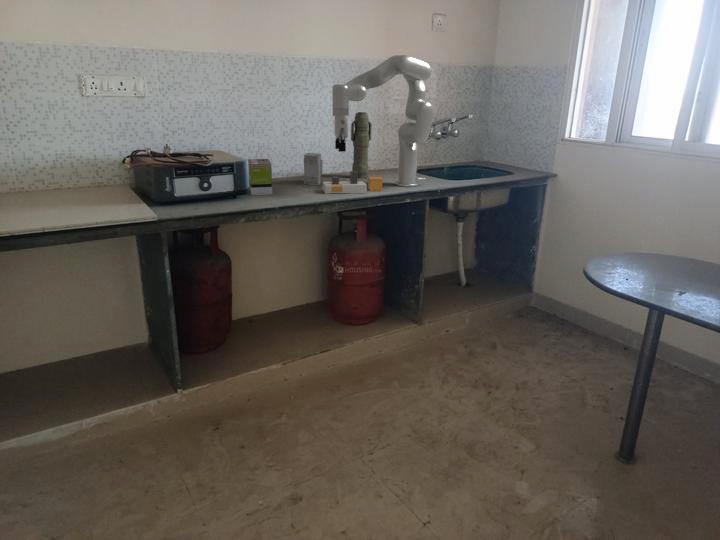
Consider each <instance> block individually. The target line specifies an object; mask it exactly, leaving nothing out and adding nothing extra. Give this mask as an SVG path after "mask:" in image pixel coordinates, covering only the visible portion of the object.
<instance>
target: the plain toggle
mask: <svg viewBox="0 0 720 540" xmlns="http://www.w3.org/2000/svg"><path fill="white" fill-rule="evenodd" d="M349 171H350V170H349ZM349 173H350V174H349V181H350V184H357V181H358V179H357V173H358V172H357V171H350V172H349Z"/></svg>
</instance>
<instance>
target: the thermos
mask: <svg viewBox="0 0 720 540" xmlns="http://www.w3.org/2000/svg"><path fill="white" fill-rule="evenodd" d="M369 119H370V118H369V115H368V112H364V111H363V112H361V111H358V112H356V113H355V115H354V120H353V121H352V122H351V125H350V142H352V147H353V163H352V169H351V170H352V171H357V172H358V173H357V178H365V179H368V178H367V177H369V164H368V155H369V145H370V141H371V140H372V126H373V125H372V122H371V121H370V120H369Z"/></svg>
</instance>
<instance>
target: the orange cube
mask: <svg viewBox="0 0 720 540" xmlns="http://www.w3.org/2000/svg"><path fill="white" fill-rule="evenodd" d="M367 189H368V190H369V191H370V192H382V191H383V177H381V176H368V178H367Z"/></svg>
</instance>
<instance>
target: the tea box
mask: <svg viewBox="0 0 720 540" xmlns="http://www.w3.org/2000/svg"><path fill="white" fill-rule="evenodd" d="M247 162H248V166H247V167H248V181H250V182H249V190H250V195H251V196H269V195H273V174H272V172H273V171H272V163H271V161H270V159H269V158H250V159H249V158H248V159H247Z"/></svg>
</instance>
